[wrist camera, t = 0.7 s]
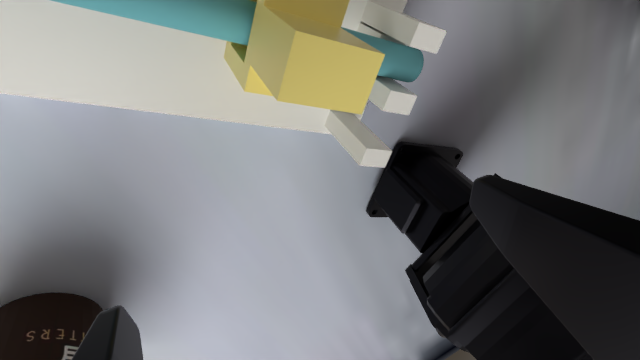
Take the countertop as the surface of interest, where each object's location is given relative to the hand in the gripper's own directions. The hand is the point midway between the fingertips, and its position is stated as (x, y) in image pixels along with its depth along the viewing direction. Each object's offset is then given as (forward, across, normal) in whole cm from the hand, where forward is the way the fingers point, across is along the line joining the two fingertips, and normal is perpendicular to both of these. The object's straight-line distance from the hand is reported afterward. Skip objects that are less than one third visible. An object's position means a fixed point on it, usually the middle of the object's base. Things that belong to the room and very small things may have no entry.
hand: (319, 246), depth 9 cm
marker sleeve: (+11, -2, -3) cm, 12 cm away
